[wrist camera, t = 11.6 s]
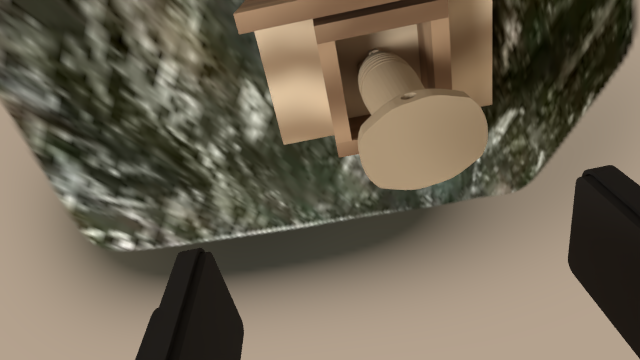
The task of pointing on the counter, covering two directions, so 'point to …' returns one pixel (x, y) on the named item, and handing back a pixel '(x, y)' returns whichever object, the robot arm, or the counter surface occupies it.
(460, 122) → the handle
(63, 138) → the counter surface
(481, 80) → the wooden box holder
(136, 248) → the counter surface
